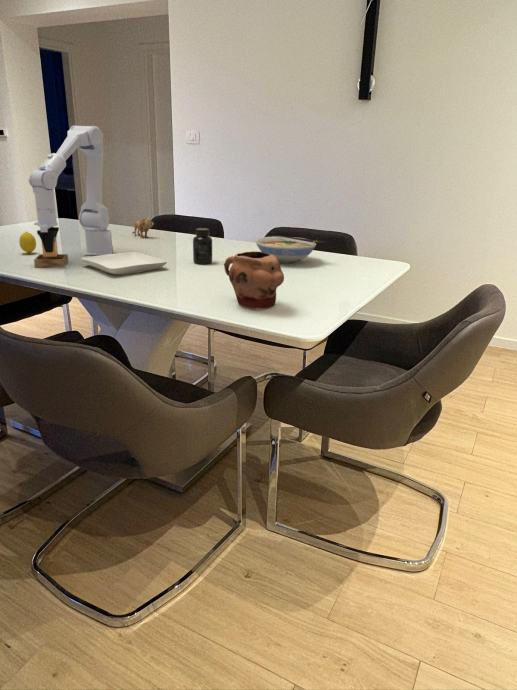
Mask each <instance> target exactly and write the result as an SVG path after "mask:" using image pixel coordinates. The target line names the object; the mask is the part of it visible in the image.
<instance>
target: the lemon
mask: <svg viewBox="0 0 517 690" xmlns="http://www.w3.org/2000/svg"><path fill="white" fill-rule="evenodd" d="M36 240H37V239H36V237H35V236H34V235H33V234H32V233H30V232H28V231H25V232H23V233H22V234H21V235H20V237H19V241H18V242H19V247H20V248H21V250H22V251H23V252H25V253H27V254H28V255H29V254H31V253H33V252H34V251H35V250H36V248H37V241H36Z"/></svg>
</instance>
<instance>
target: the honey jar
mask: <svg viewBox="0 0 517 690" xmlns="http://www.w3.org/2000/svg"><path fill="white" fill-rule="evenodd" d="M40 240H41V239H40ZM41 247H42V254H43V257H56V256H57V255H58V254H59V252H58V251H59V249H58V242H57V237H56V236H54V242H53V252H46V251H45V249H44V246H43V243H42V240H41Z"/></svg>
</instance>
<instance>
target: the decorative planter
mask: <svg viewBox="0 0 517 690" xmlns="http://www.w3.org/2000/svg"><path fill="white" fill-rule="evenodd" d="M230 265H231V266H230ZM223 266H224V272H225V274H226V276H228V279H229V281H230V284H231V285H232V288H233V291H234V294H235V297H236V300H237V301H236V302H237V304H238V305H239V306H241V307H243V308H247V309H251V310H266V309H270V308H272V307H273V308H274V307H275V305H276V301H277V289H278V288H279V287H280V286H281V285H282V284H283V283H284V280H285V274H284V272H283V270H282V267H281V264H280V262H279V261H278V260H277V258H276V257H275V256H274V255H271V254H268V253H263V252H261V251H256V250H255V251H244V252H239V253H236V254H235V255H232V256H228V257H227V258H226V259H225V261H224V263H223Z"/></svg>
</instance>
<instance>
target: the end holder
mask: <svg viewBox="0 0 517 690" xmlns="http://www.w3.org/2000/svg"><path fill="white" fill-rule="evenodd" d="M68 255H69V254H67V253H66V254H65V253H61V254H60V253H58V255H57V256H56V257H43V253H40V254H37V256H36V257H35V258H34V259H33V263H34V268H66V267H65V266H67V265H68V263H69V256H68Z"/></svg>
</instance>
